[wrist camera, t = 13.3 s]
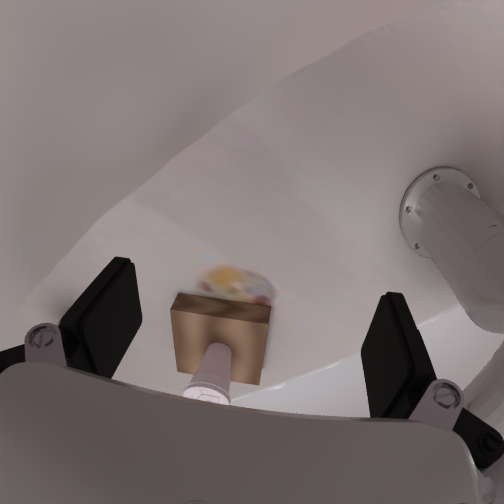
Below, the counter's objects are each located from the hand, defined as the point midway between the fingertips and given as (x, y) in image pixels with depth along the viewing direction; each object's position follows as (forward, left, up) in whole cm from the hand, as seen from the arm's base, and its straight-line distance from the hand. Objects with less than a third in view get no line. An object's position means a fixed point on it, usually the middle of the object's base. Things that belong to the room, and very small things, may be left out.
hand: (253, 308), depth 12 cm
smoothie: (+6, +29, -24) cm, 38 cm away
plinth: (+6, +29, -28) cm, 41 cm away
